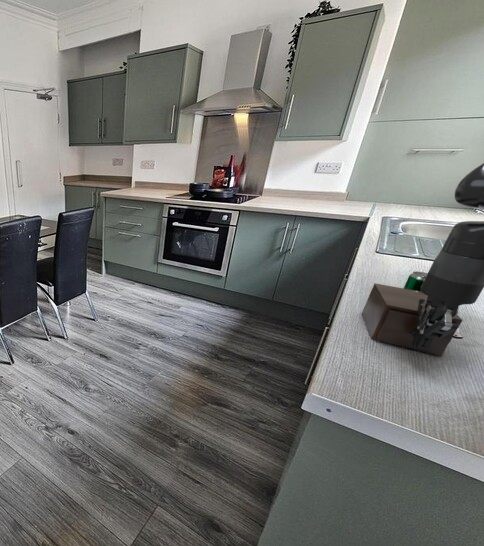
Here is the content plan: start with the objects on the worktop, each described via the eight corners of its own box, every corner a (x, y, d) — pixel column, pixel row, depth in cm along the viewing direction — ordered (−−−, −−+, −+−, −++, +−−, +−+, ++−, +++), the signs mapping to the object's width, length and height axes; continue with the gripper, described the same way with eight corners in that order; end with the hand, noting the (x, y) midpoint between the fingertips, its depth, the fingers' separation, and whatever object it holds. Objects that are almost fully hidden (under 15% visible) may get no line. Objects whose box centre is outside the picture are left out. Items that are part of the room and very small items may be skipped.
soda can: (391, 307, 91) (408, 269, 86) (415, 312, 88) (434, 273, 84) (395, 314, 87) (413, 275, 82) (420, 319, 85) (441, 279, 80)
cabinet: (441, 356, 70) (462, 320, 66) (371, 339, 76) (386, 304, 72) (421, 327, 81) (438, 294, 77) (361, 313, 87) (374, 283, 83)
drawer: (443, 358, 68) (461, 328, 65) (377, 341, 73) (391, 313, 70) (422, 327, 79) (436, 300, 76) (366, 315, 85) (377, 289, 82)
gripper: (503, 292, 54) (455, 371, 61) (470, 269, 64) (431, 339, 71) (442, 282, 58) (402, 357, 64) (419, 261, 68) (387, 328, 75)
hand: (418, 347), depth 68 cm, fingers closed
